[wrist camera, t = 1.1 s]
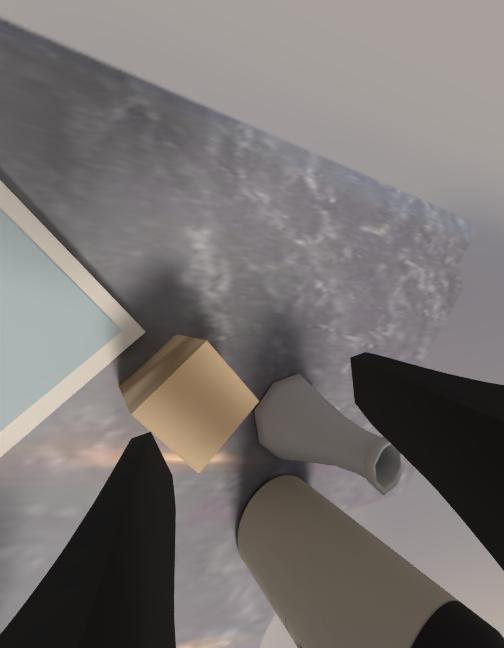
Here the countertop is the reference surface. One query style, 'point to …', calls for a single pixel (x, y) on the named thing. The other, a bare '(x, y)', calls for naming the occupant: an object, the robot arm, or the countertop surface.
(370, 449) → the flask
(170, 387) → the oak block
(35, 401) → the picture frame
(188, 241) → the countertop surface
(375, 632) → the travel mug
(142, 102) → the countertop surface
